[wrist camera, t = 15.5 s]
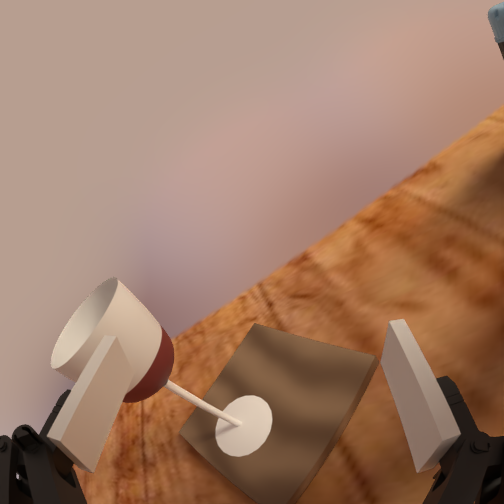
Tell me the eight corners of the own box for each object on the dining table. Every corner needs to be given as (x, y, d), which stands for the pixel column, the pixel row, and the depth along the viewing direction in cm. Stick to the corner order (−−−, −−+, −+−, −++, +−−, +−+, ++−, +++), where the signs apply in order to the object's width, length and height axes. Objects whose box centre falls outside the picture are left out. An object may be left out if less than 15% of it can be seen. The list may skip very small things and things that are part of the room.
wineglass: (290, 423, 26) (119, 305, 16) (228, 473, 24) (45, 388, 15) (254, 378, 32) (117, 264, 23) (203, 424, 31) (57, 332, 22)
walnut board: (260, 328, 40) (254, 323, 40) (379, 361, 26) (375, 355, 26) (186, 436, 33) (178, 432, 32) (284, 516, 19) (275, 516, 18)
